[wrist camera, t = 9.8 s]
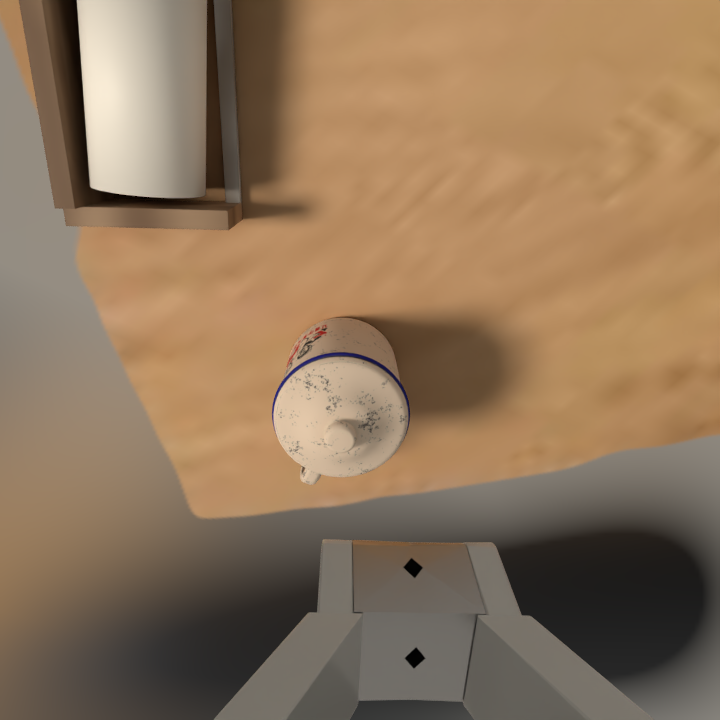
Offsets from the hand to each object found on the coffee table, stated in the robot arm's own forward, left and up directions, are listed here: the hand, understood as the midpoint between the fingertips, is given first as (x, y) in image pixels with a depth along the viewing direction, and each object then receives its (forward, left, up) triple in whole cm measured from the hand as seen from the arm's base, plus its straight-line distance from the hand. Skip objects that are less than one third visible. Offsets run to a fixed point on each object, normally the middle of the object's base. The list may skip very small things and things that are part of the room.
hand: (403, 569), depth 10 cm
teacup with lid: (+2, +11, -33) cm, 35 cm away
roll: (+13, -10, -30) cm, 34 cm away
